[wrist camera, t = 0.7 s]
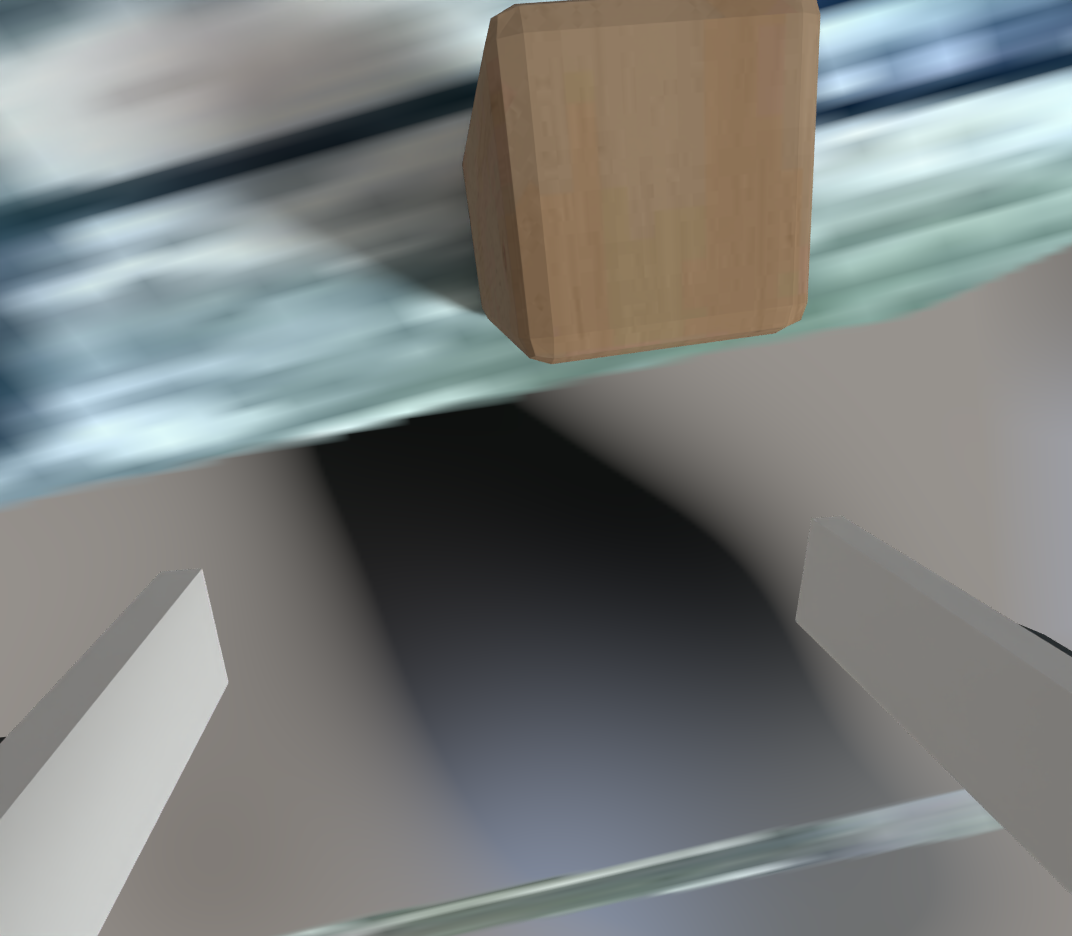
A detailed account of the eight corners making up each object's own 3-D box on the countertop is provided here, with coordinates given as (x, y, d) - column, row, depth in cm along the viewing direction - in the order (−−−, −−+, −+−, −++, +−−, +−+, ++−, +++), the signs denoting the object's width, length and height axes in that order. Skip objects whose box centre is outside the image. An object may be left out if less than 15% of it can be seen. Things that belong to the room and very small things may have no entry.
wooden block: (483, 322, 37) (526, 372, 18) (458, 148, 34) (481, -11, 15) (633, 303, 38) (819, 332, 19) (624, 132, 35) (838, -34, 16)
